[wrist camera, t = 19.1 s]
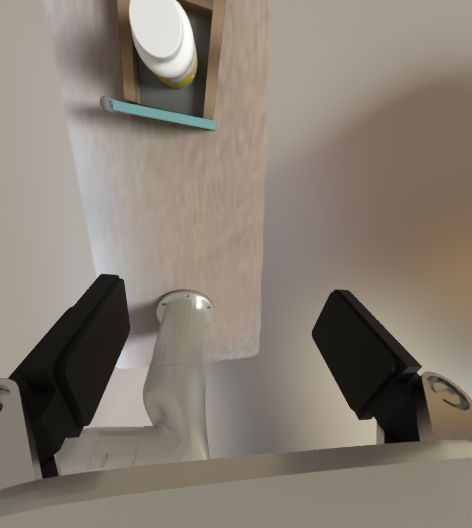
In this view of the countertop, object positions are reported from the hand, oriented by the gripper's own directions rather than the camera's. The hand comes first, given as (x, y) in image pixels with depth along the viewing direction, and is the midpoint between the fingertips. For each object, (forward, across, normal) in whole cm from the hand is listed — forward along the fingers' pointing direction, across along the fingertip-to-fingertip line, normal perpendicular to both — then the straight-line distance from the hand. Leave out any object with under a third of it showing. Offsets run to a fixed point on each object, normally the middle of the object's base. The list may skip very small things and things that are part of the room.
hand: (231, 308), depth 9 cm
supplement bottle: (+27, +6, -14) cm, 31 cm away
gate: (+27, +7, -9) cm, 29 cm away
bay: (+27, +6, -14) cm, 31 cm away
